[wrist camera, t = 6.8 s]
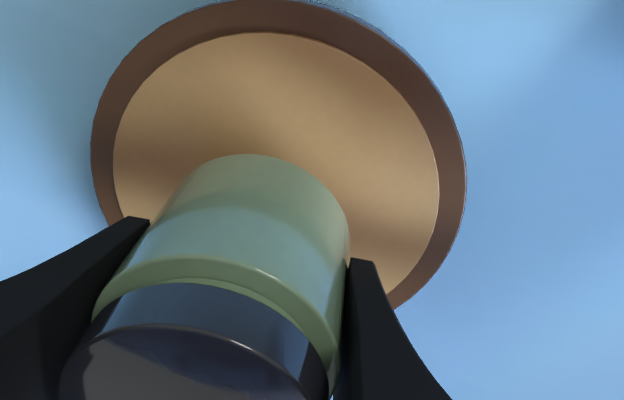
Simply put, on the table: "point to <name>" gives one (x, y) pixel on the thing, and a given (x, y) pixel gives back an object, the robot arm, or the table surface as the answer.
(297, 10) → the stand
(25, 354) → the robot arm
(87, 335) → the jar
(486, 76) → the table surface
